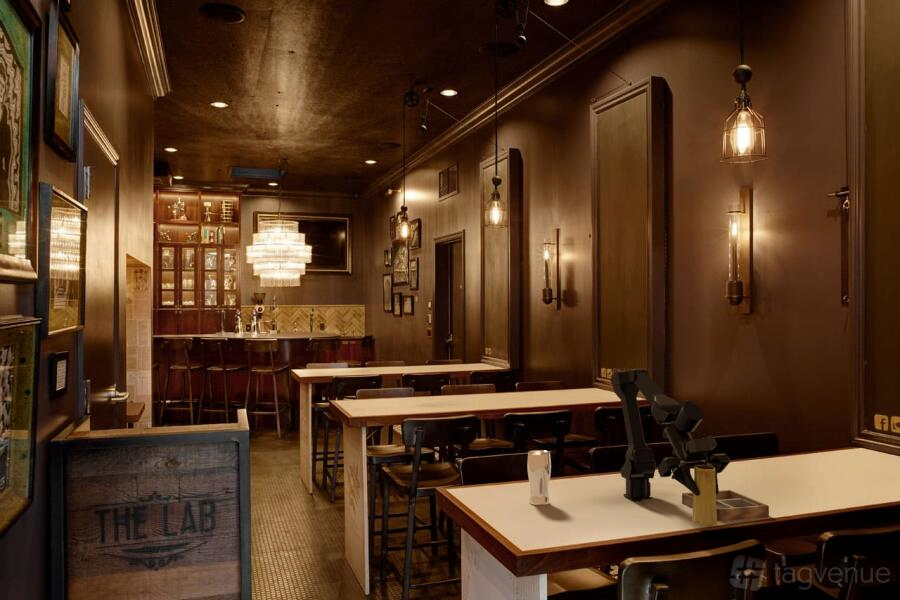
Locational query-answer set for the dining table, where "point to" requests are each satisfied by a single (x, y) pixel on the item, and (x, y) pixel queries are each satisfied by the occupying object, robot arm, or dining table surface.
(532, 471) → the beer glass
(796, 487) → the dining table surface
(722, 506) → the holder plate
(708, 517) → the vase
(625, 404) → the robot arm
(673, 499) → the dining table surface
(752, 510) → the tray
